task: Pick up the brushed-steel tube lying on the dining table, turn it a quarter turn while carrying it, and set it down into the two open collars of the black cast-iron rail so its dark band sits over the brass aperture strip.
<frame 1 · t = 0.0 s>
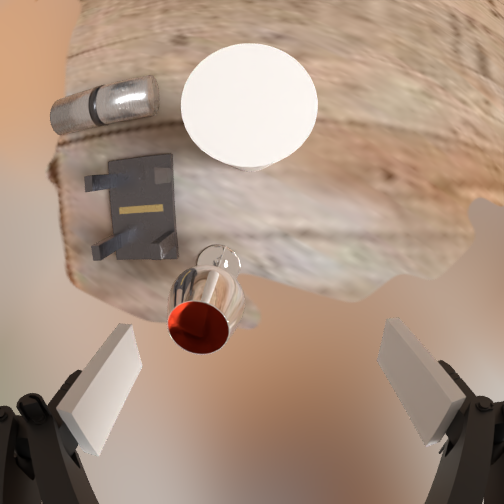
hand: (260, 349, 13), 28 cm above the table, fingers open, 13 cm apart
wineglass: (219, 265, 42), on the table
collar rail: (143, 208, 39), on the table
tube: (111, 108, 35), on the table
cylindrical container: (250, 146, 37), on the table
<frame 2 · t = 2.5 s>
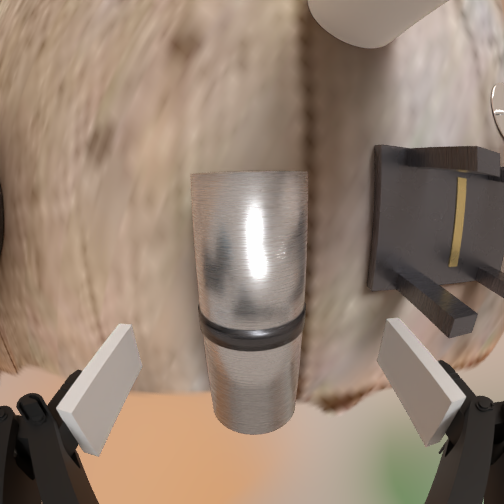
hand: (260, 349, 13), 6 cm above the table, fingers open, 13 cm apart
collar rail: (451, 220, 18), on the table
tube: (250, 291, 19), on the table
cylindrical container: (353, 11, 14), on the table
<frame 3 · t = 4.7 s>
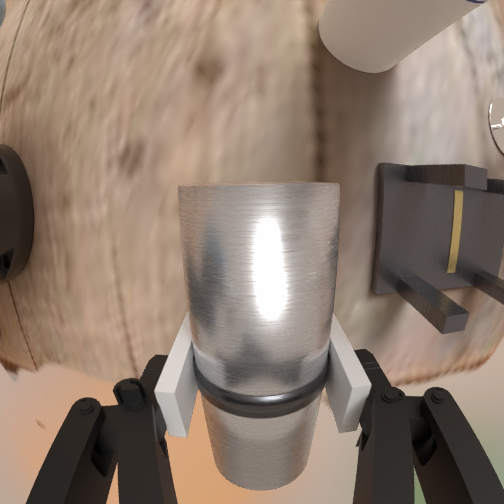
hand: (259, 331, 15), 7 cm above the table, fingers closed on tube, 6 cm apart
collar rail: (449, 230, 20), on the table
tube: (257, 330, 15), point 6 cm above the table, touching gripper
cylindrical container: (360, 37, 16), on the table
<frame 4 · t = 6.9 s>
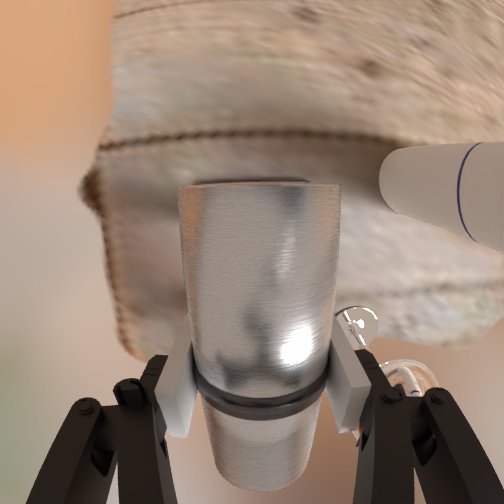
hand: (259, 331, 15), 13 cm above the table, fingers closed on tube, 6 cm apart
wineglass: (352, 329, 31), on the table
tube: (257, 331, 15), point 13 cm above the table, touching gripper
cylindrical container: (406, 181, 26), on the table
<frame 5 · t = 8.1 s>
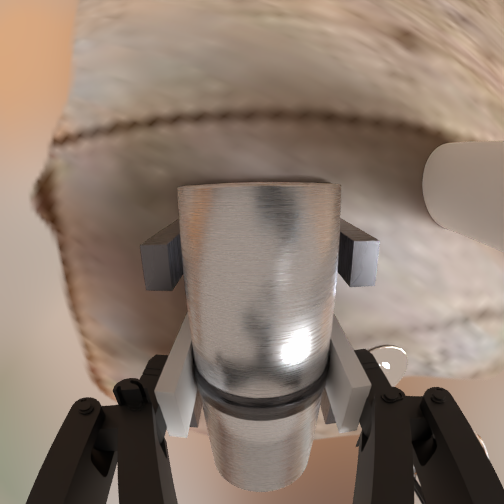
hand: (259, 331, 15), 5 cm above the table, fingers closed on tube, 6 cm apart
wineglass: (377, 371, 23), on the table
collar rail: (258, 290, 20), on the table
tube: (257, 331, 15), point 5 cm above the table, touching gripper
cylindrical container: (453, 186, 18), on the table
when the fingers open (2 cm above the table, at t = 9.2 s): tube stays where it is, resting on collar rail.
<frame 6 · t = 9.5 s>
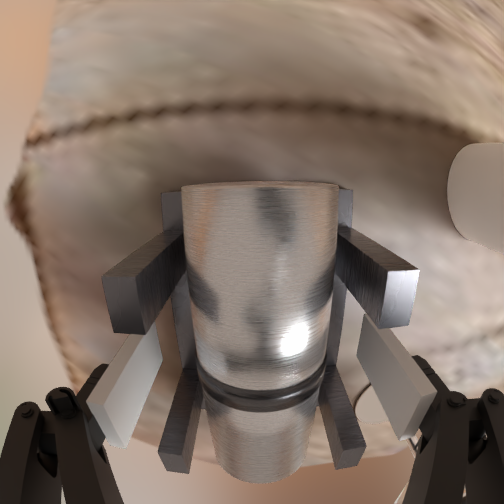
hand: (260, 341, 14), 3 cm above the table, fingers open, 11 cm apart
wineglass: (389, 396, 20), on the table
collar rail: (258, 314, 17), on the table
tube: (257, 326, 16), point 1 cm above the table, touching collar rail
cylindrical container: (478, 192, 15), on the table
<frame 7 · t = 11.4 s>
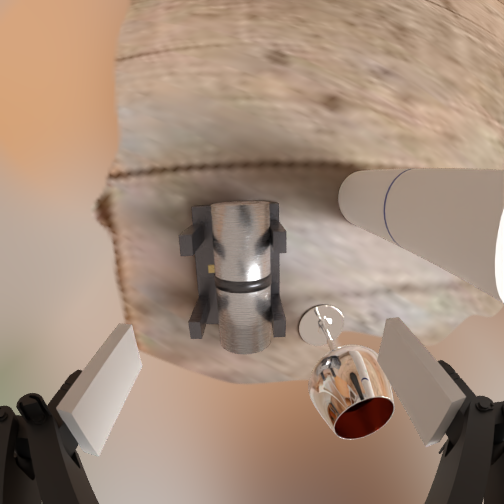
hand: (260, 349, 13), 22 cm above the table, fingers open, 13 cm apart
wineglass: (321, 324, 37), on the table
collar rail: (237, 265, 35), on the table
tube: (236, 269, 34), point 1 cm above the table, tilted 15°, touching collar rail
cylindrical container: (363, 198, 33), on the table
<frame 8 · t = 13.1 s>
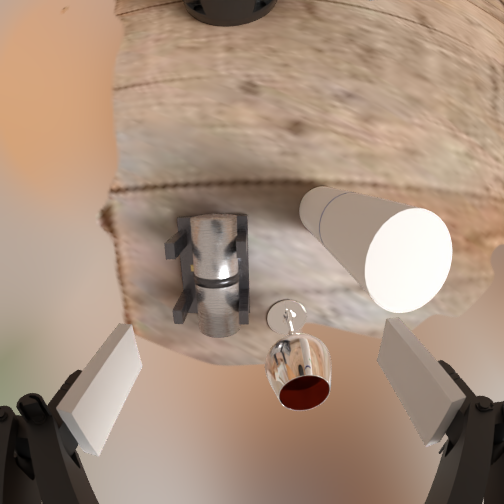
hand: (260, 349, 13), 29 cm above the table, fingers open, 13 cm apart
wineglass: (287, 316, 45), on the table
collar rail: (215, 265, 42), on the table
tube: (213, 268, 41), point 1 cm above the table, tilted 15°, touching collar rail
cylindrical container: (322, 210, 40), on the table
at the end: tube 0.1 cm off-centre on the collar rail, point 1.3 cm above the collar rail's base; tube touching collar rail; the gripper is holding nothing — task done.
